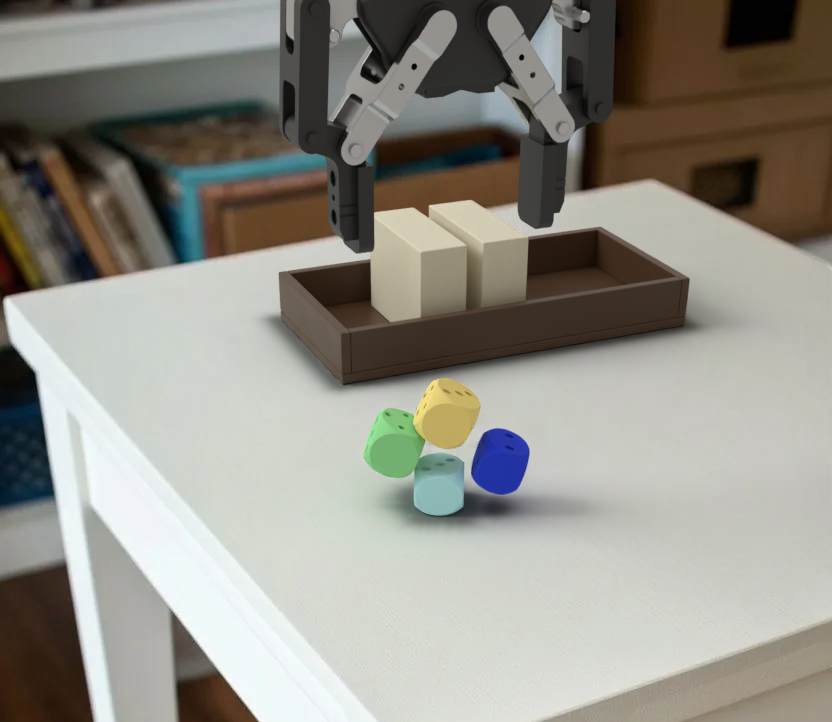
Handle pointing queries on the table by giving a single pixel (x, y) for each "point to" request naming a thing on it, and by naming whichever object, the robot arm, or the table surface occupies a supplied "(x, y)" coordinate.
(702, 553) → the table surface
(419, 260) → the block
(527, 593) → the table surface
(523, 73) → the robot arm
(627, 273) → the tray
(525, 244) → the block
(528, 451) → the dice
